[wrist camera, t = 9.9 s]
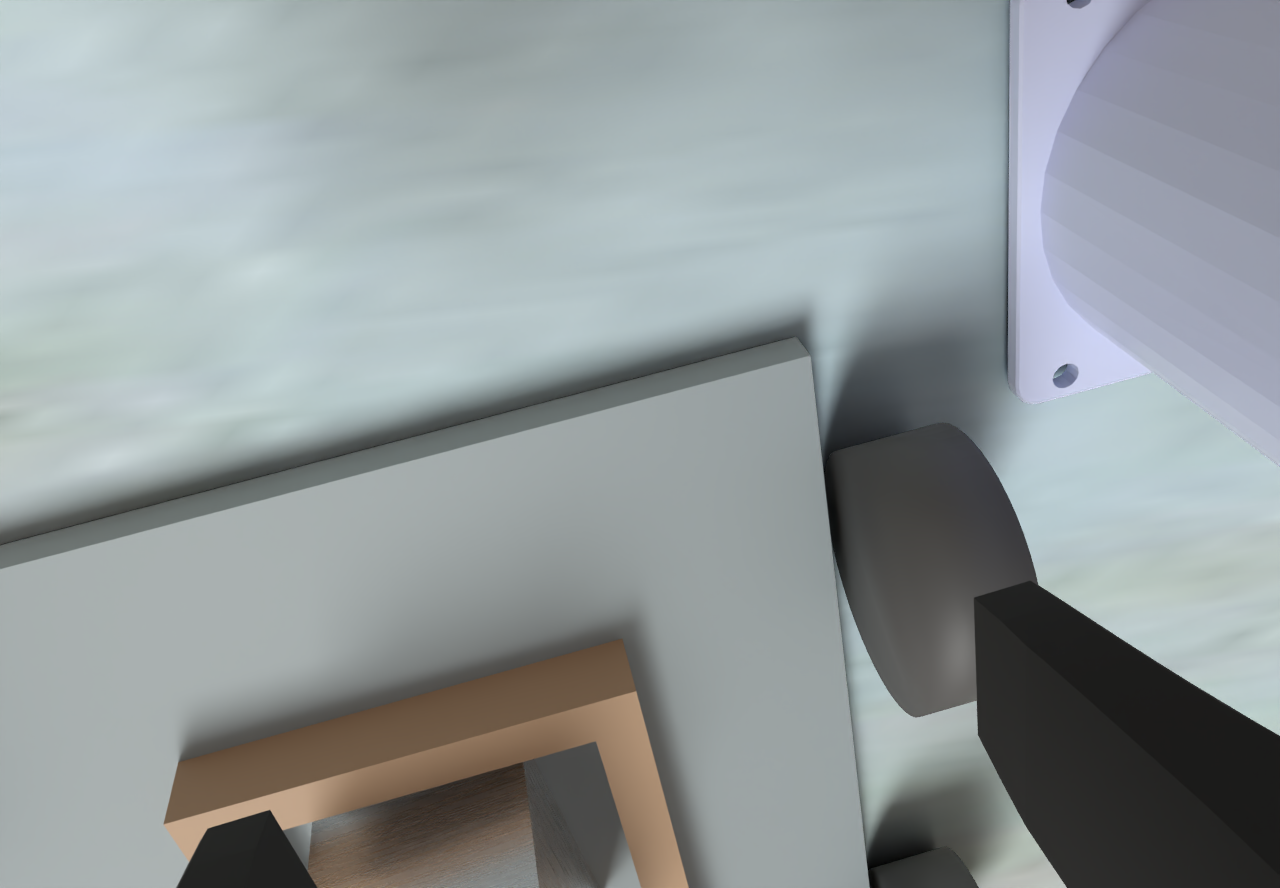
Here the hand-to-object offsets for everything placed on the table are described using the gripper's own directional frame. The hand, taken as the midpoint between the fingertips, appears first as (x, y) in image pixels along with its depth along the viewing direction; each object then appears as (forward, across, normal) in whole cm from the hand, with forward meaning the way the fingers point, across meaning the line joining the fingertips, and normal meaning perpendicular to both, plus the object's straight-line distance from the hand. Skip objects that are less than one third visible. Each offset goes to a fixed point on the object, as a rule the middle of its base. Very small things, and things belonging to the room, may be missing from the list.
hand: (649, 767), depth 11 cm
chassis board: (+9, +4, +11) cm, 15 cm away
